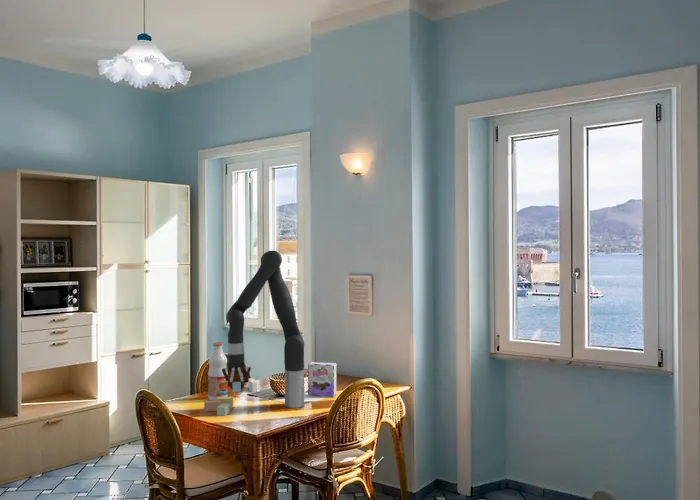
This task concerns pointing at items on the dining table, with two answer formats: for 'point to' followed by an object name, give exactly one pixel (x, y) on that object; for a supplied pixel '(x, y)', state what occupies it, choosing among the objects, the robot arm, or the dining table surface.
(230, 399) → the ochre brick
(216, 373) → the fruit juice
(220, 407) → the sage brick
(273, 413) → the dining table surface
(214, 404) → the terracotta brick
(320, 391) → the candy box
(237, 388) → the slate brick
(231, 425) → the dining table surface
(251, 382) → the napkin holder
